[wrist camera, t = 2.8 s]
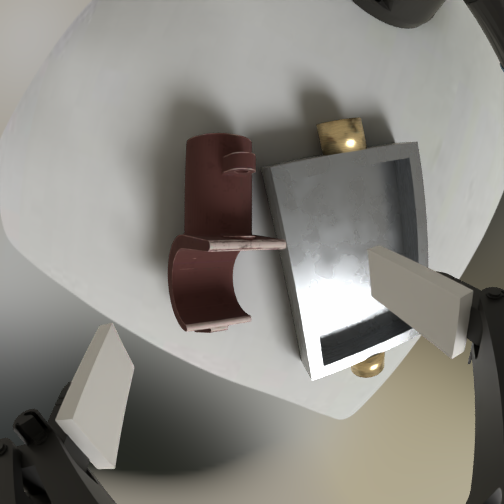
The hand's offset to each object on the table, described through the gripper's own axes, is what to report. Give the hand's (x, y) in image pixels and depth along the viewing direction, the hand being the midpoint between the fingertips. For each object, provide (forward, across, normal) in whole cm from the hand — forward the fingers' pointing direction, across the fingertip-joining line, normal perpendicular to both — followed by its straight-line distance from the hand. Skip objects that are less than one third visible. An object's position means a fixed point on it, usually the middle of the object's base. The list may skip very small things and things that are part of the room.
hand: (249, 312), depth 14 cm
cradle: (+16, +13, -6) cm, 22 cm away
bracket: (+16, 0, 0) cm, 16 cm away
